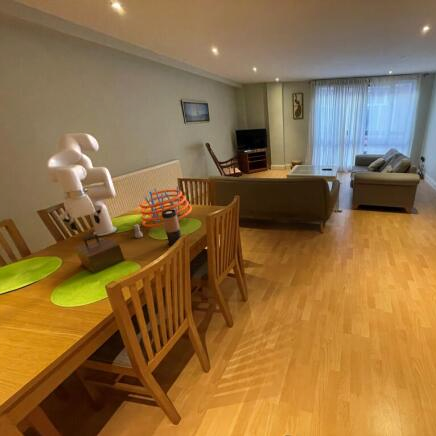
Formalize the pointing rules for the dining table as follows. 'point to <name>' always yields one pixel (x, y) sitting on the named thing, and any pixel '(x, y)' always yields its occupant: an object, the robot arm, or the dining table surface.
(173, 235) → the travel mug
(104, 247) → the lid
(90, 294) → the dining table surface
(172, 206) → the toy basket
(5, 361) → the dining table surface
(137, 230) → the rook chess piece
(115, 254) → the chest
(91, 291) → the dining table surface
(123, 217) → the dining table surface
